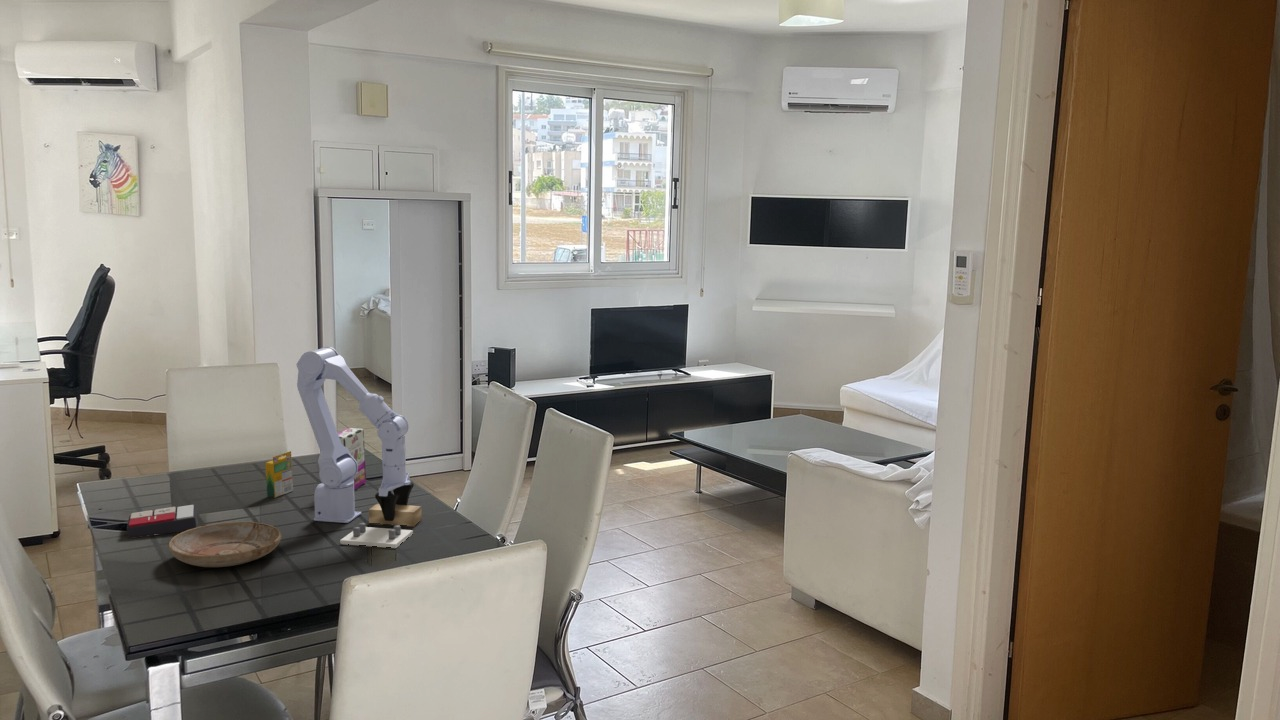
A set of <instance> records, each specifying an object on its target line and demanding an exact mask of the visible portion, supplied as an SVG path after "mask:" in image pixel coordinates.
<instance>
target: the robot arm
mask: <svg viewBox="0 0 1280 720" xmlns="http://www.w3.org/2000/svg"><path fill="white" fill-rule="evenodd" d="M296 368H297V370H298V374H297V380H296V381H297V383H296V387H297V391H298V394H299V396H300V399H301V401H302V403H303V408H304V410H305V412H306V413H305V414H306V416H307V418H308V421H309V424H310V426H311V429H312V432H313V434H314V439H315V440H316V443H317V445H318V448H319V451H320V454H319V456H318V460H317V464H318V467H319V471H318V472H319V473H318V476H319V480H320V481H321V483H319V484H317V486H316V487H315V490H314V494H313V499H314V501H313V502H314V518H313V521H315V522H327V523H343V524H349V523H350V522H352V521H353V520H355V519H356V518H357V517H359V516H361V514H362V511H356V506H355V505H356V502H355V501H356V500H355V498H356V497H355V490H354V476H355V475H356V473H357V471H358V464H357V461H356V460H355V459H354V458H353V457H352V455H351V454H350V451H349V449H348V448H346V447H345V446H343V445H342V444H341V441H340V438H339V435H338V433H339V432H338V430H337V427H336V424H335V422H334V419H333V416H332V413H331V411H330V410H331V409H330V408H329V405H328V401H327V399H326V397H325V394H324V392H323V391H324V390H323V389H322V386H323V385H324V383H325V381H326V380H332V381H333V380H334V381H336V382H337V383H338V384H339V385H340V386H342V387H343V389H344V390H346V391H347V392H348V393H349V394H350V395H351V396H352V397H353V398H354V399H355V400H356V401H357V402H358V410H359V411H360V412H361V413H362V414H363V415H364V416H365V417H366V418H367V419H368V421H369V422H370V423H371V424H372V425H373V426H374V427H375V428H376V429H377V430H376V434H377V436H378V438H379V439H380V441H381V455H382V456H381V459H382V461H381V465H382V466H381V467H382V481H381V485H380V487H378V492H377V493H375V494H374V496H375V500H376V501H377V504H380V507H381V509H382V512H383V516H384V519H385V521H393V520H394V516H395V506H396V505H408V502H409V498H410V495H411V492H412V489H413V488H414V486H415V483H414V482H412V481H411V478H410V472H409V473H407V466H406V465H407V464H406V463H407V462H406V459H407V458H406V454H407V453H406V436H405V435H406V434H407V433H408V431H409V423H408V421H407V419H406V418H405V416H404V415H403V414H402V415H401V414H398V413H397V412H396V411H394V410H392V408H390V407H389V406H388V405H387V403H386V402H385V401H384V400H385V398H384V397H383V396H382V395H378V394H377V393H372V392H369V390H367V388H366V387H365V386H364V384H363V382H361V381H360V379H359V378H358V377H357V376H356V375H355V373H354V372H353V371H352V370H351V368H350V367H349V366H348V365H347V363H346V360H345V359H344V356H342V355H341V354H339V353H338V351H337V350H336V349H335V348H334V347H331V346H323V347H321V348H319V349H314V350H309V351H308V350H307V351H305V352H304V353H303V354H302V355H301V356H300V358H299V359H298V361H297V362H296Z"/></svg>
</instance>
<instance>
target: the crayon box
mask: <svg viewBox="0 0 1280 720" xmlns="http://www.w3.org/2000/svg"><path fill="white" fill-rule="evenodd" d="M292 466H293V465H292V450H291V451H288V452H284V453H280V454H278V455H276V456H275V455H274V456H272V460H269V461H266V462H265V480H266V496H267V497H268V498H274V499H276V498H278V497H281V496H284V495H286V494H289V493H291V492H294V481H293V467H292Z"/></svg>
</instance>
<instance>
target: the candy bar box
mask: <svg viewBox="0 0 1280 720" xmlns="http://www.w3.org/2000/svg"><path fill="white" fill-rule="evenodd" d="M364 431H365V429H364V428H358V427H348V428H346V429H344V430H342V431H340V432H338V435H339V438H340V441H341V444H342V445H343V446H345V447H346V448H348V449H349V451H350V454H351V455H352V457H353V458H354V459H355V460H356V461H357V464H358V471H357V473H356V475H355V476H354V491H355V490H357V489H358V488H360V487H362V486H363V485H365V484H366V483H367V476H366V475H367V473H366V456H365V455H366V454H365V451H366V450H365V436H364V435H365V434H364Z"/></svg>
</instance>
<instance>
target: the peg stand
mask: <svg viewBox="0 0 1280 720" xmlns="http://www.w3.org/2000/svg"><path fill="white" fill-rule="evenodd" d="M401 527H402V526H400V525H393V528H387V527H386V528H385V527H371V526H369V527H368V526H367V524H366V523H365V522H360V523H358V526H354V527H352V531H351V532H350V533H348V534H346V535H345V536H344V537H343V538H340V541H339V542H340V545H345V546H346V545H347V546H359V545H366V546H365V547H372V546H377V547H376V548H386V547H391V548H390V549H397V548H398V547H400V544H401V543H402V542H403V543H405V542H406V541H407V540H408V539H409V538H410V537H412V536H413V535H414V530H411V529H402V528H401ZM412 534H413V535H412ZM408 537H409V538H408ZM407 538H408V539H407ZM406 539H407V540H406ZM403 543H402V544H403ZM348 544H349V545H348ZM402 544H401V545H402Z"/></svg>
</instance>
